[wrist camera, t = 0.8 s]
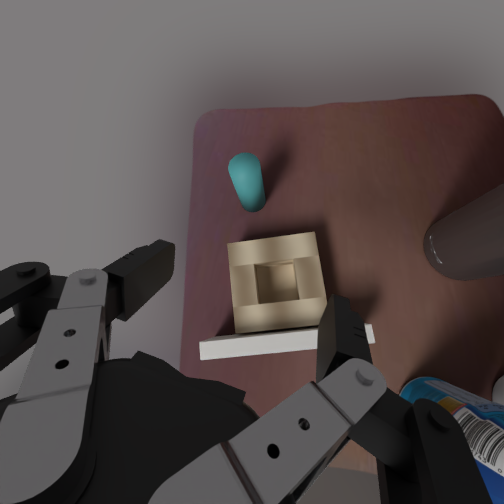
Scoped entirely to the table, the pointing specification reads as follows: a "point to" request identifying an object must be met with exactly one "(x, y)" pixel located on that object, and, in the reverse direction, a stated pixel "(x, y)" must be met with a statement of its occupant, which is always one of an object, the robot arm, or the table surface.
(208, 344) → the backstop wall
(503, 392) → the grey thin strip
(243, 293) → the socket block
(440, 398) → the beverage bottle
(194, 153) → the table surface
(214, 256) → the table surface
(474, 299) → the table surface
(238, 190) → the teal rounded cylinder
